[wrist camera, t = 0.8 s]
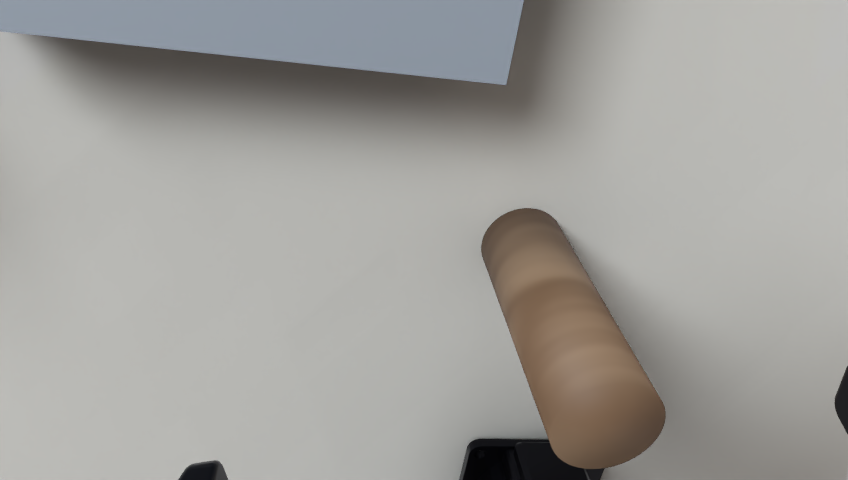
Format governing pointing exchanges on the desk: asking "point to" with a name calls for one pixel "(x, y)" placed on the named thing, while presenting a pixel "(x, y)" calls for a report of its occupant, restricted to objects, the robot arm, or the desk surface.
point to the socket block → (297, 31)
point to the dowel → (569, 345)
